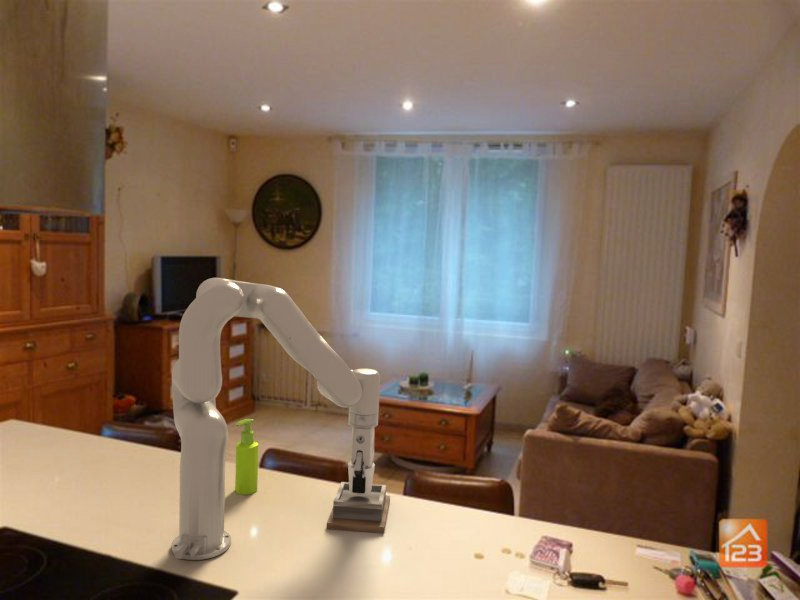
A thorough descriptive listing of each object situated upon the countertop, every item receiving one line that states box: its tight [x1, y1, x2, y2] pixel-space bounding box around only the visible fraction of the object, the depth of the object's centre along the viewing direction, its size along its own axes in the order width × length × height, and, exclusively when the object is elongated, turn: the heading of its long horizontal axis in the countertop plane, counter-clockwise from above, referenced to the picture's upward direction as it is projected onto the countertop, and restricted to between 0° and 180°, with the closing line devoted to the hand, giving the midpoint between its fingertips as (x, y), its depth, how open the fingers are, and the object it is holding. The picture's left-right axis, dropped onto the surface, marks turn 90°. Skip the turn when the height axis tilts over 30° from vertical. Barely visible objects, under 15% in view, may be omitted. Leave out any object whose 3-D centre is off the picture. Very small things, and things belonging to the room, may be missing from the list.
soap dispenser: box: [234, 418, 259, 496], centre depth 161 cm, size 6×7×20 cm
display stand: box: [326, 481, 391, 534], centre depth 150 cm, size 18×14×6 cm
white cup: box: [347, 460, 376, 495], centre depth 150 cm, size 7×7×7 cm
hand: (360, 486), depth 150 cm, fingers closed on white cup, 5 cm apart
